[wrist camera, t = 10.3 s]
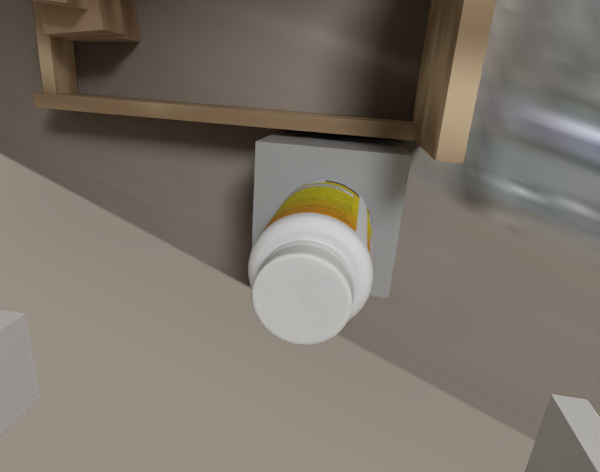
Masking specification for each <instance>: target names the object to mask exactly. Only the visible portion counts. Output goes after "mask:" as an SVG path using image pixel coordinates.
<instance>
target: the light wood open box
mask: <svg viewBox="0 0 600 472" xmlns="http://www.w3.org/2000/svg"><path fill="white" fill-rule="evenodd" d="M495 2H496V0H431V2H430V9H429V15H428V21H427V28H426V34H425V41H424V47H423V54H422V60H421V67H420V73H419V80H418V86H417V92H416V99H415V105H414V112H413V118H412V121H403V120H391V119H379V118H367V117H355V116H342V115H330V114H318V113H306V112H294V111H282V110H270V109H258V108H246V107H233V106H221V105H209V104H197V103H185V102H173V101H161V100H149V99H137V98H124V97H112V96H100V95H88V94H79V93H78V83H77V73H76V63H75V53H74V42H73V41H71V40H65V38H62V37H56V36H51V35H45V34H44V31H43V26H42V22H41V17H40V12H39V8H38V3H37V1H33V0H32V3H33V11H34V19H35V28H36V36H37V44H38V52H39V60H40V68H41V76H42V84H43V92H44V93H33V94H34V102H35V107H36V108H47V109H59V110H70V111H81V112H93V113H104V114H115V115H127V116H138V117H150V118H161V119H172V120H184V121H195V122H206V123H218V124H229V125H241V126H252V127H263V128H275V129H286V130H297V131H309V132H320V133H332V134H343V135H354V136H366V137H377V138H388V139H400V140H411V141H416V142H417V143H418V144H419V145H420V146H421V147H422V148H423V149H424V150H425V151H426V152H427V153H428V154H429V155H430V156H431V157H432V158H433V159H434V160H435V161H442V162H453V163H463V162H464V157H465V152H466V147H467V142H468V137H469V132H470V127H471V122H472V117H473V112H474V107H475V102H476V97H477V92H478V87H479V82H480V77H481V72H482V67H483V62H484V57H485V52H486V47H487V42H488V37H489V32H490V27H491V22H492V17H493V12H494V7H495Z"/></svg>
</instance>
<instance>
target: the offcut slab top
mask: <svg viewBox="0 0 600 472" xmlns="http://www.w3.org/2000/svg"><path fill="white" fill-rule="evenodd" d="M37 3H38V8H39V12H40V17H41V22H42V26H43V31H44V34H45V35H51V36H56V37H62V38H67V39H77V38H90V37H103V36H116V35H125V30H124V24H123V18H122V12H121V5H120V0H88V9H81V8H74V7H67V6H60V5H53V4H46V3H40V2H37Z"/></svg>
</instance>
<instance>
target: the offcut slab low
mask: <svg viewBox="0 0 600 472" xmlns="http://www.w3.org/2000/svg"><path fill="white" fill-rule="evenodd" d="M120 5H121V12H122V18H123V24H124V30H125V35H116V36H103V37H90V38H77V39H67V38H65V40H71V41H77V42H82V43H104V42H140V38H139V28H138V19H137V10H136V1H135V0H120Z"/></svg>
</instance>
